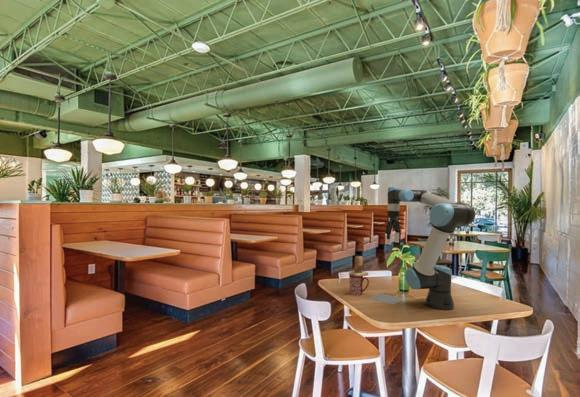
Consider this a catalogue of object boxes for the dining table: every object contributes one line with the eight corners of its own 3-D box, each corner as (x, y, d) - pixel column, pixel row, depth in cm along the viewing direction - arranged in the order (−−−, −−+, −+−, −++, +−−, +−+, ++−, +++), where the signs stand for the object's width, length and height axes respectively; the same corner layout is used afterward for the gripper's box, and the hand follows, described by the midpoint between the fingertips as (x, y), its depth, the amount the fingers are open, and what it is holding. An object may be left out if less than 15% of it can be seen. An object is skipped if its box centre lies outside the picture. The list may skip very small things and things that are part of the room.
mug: (346, 295, 202) (347, 274, 202) (350, 292, 210) (351, 271, 210) (366, 298, 196) (367, 276, 196) (370, 295, 204) (370, 273, 204)
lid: (371, 273, 205) (371, 256, 205) (363, 277, 195) (363, 258, 195) (354, 270, 212) (354, 254, 212) (345, 273, 203) (345, 256, 203)
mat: (403, 299, 196) (403, 298, 196) (393, 305, 184) (393, 304, 184) (378, 294, 206) (378, 293, 206) (368, 299, 194) (368, 298, 194)
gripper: (394, 210, 221) (394, 241, 220) (380, 210, 201) (379, 244, 201) (405, 210, 216) (405, 242, 216) (391, 211, 196) (391, 245, 196)
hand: (392, 243), depth 208 cm, fingers open, 13 cm apart
